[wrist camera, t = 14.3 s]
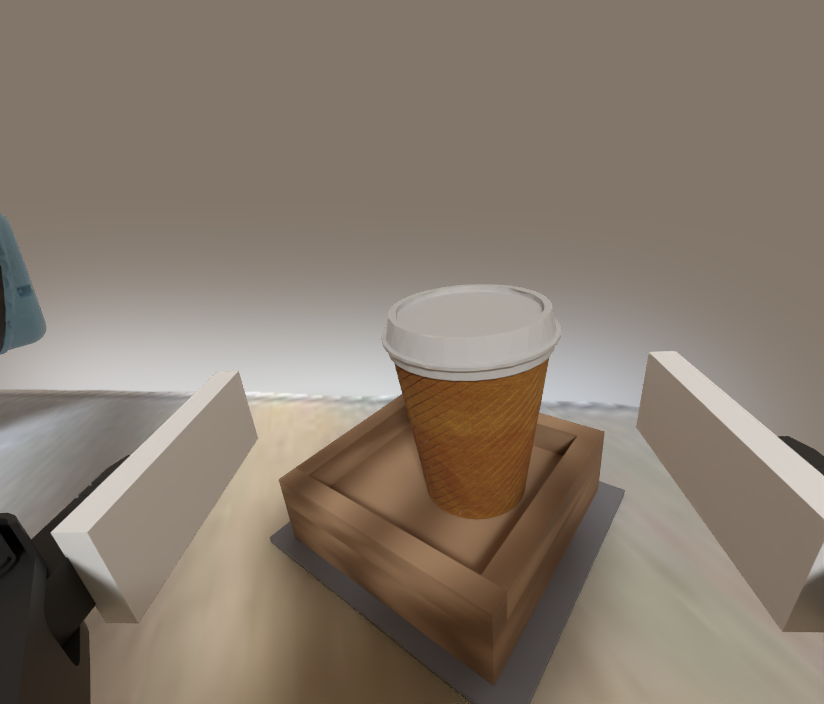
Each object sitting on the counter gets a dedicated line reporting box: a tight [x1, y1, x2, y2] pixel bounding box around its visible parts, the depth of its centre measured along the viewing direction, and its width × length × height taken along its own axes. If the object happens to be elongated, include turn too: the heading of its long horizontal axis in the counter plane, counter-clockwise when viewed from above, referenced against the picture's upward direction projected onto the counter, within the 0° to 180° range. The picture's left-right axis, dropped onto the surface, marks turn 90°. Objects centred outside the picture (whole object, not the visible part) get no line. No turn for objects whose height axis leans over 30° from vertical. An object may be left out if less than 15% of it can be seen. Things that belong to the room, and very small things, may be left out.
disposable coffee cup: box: [381, 284, 561, 519], centre depth 25 cm, size 10×10×12 cm
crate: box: [279, 394, 604, 686], centre depth 28 cm, size 15×15×5 cm
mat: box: [270, 481, 625, 704], centre depth 29 cm, size 18×17×1 cm
